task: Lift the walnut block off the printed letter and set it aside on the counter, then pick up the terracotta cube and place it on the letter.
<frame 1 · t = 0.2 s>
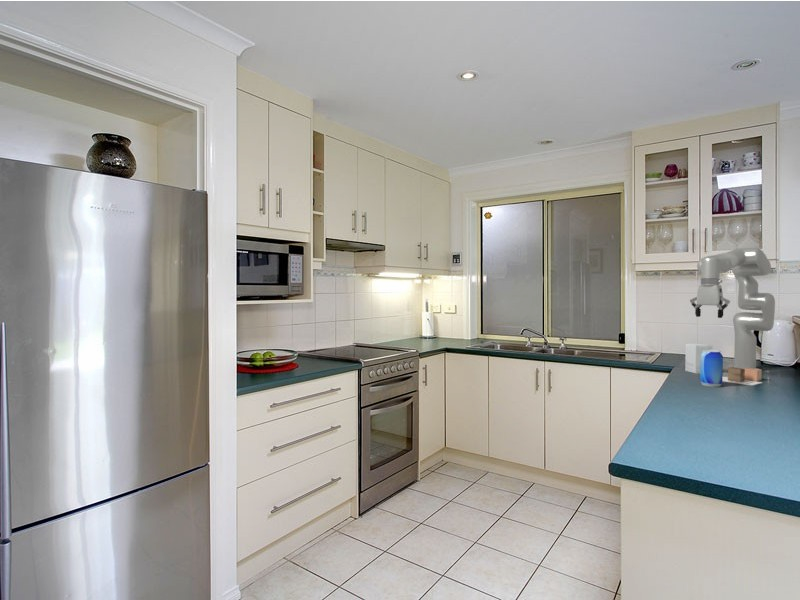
hand: (708, 317, 223), 30 cm above the countertop, fingers open, 9 cm apart
terracotta cube: (752, 380, 220), on the countertop
walnut block: (736, 380, 218), resting on letter
beer can: (710, 385, 208), on the countertop
supplement box: (698, 372, 241), on the countertop
letter: (736, 381, 218), on the countertop
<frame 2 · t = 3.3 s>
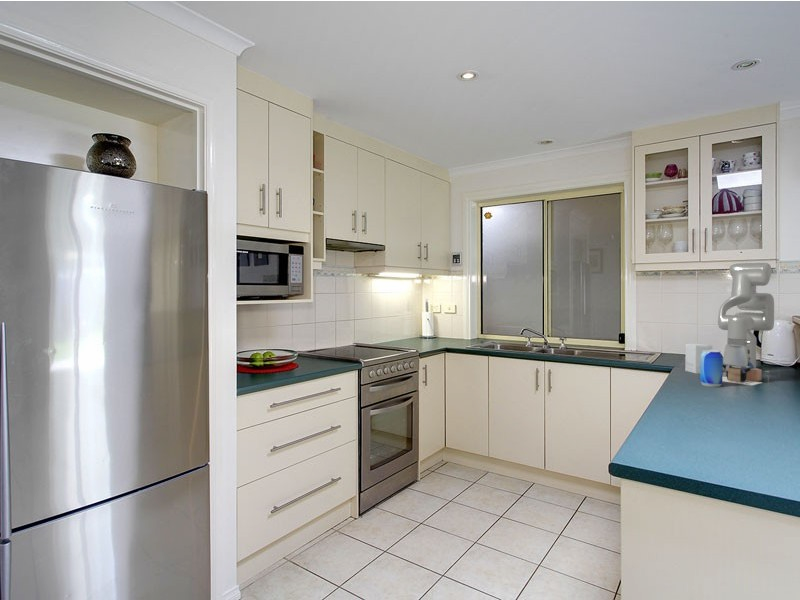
hand: (736, 379, 217), 1 cm above the countertop, fingers closed on walnut block, 5 cm apart
walnut block: (736, 380, 218), resting on letter, touching gripper
everything else where it was.
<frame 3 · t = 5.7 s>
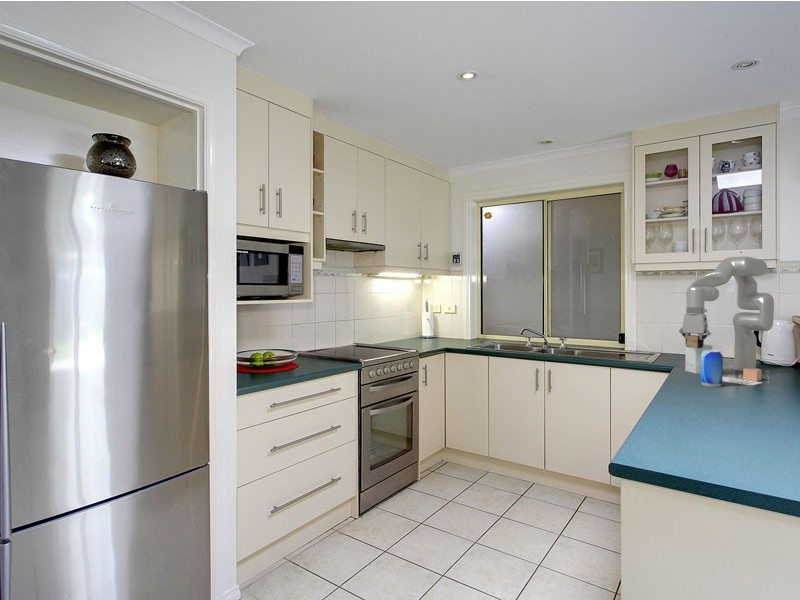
hand: (694, 346, 229), 15 cm above the countertop, fingers closed on walnut block, 5 cm apart
walnut block: (694, 347, 229), point 15 cm above the countertop, touching gripper
everything else where it was.
when the fingers open (2 cm above the countertop, at t = 8.0 s): walnut block drops 1 cm, on the countertop.
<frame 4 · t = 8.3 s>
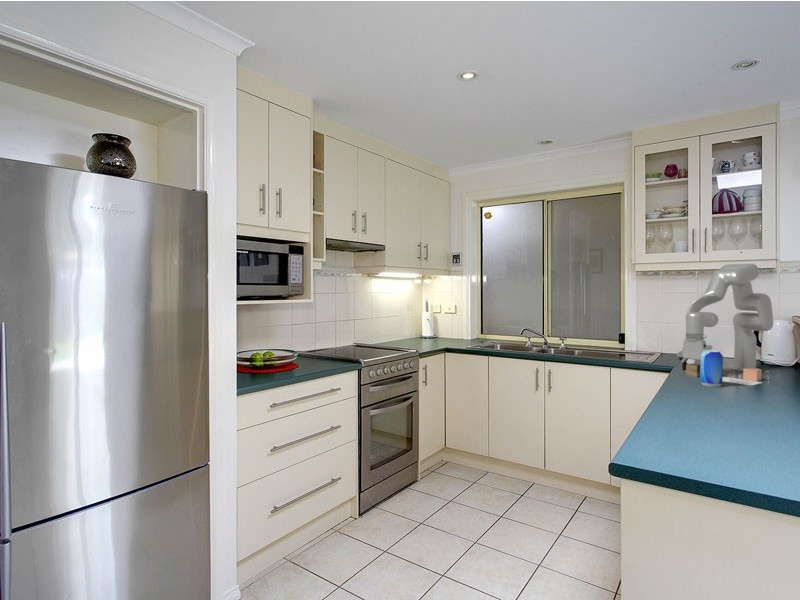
hand: (693, 371, 230), 2 cm above the countertop, fingers open, 7 cm apart
walnut block: (693, 376, 230), on the countertop
everything else where it was.
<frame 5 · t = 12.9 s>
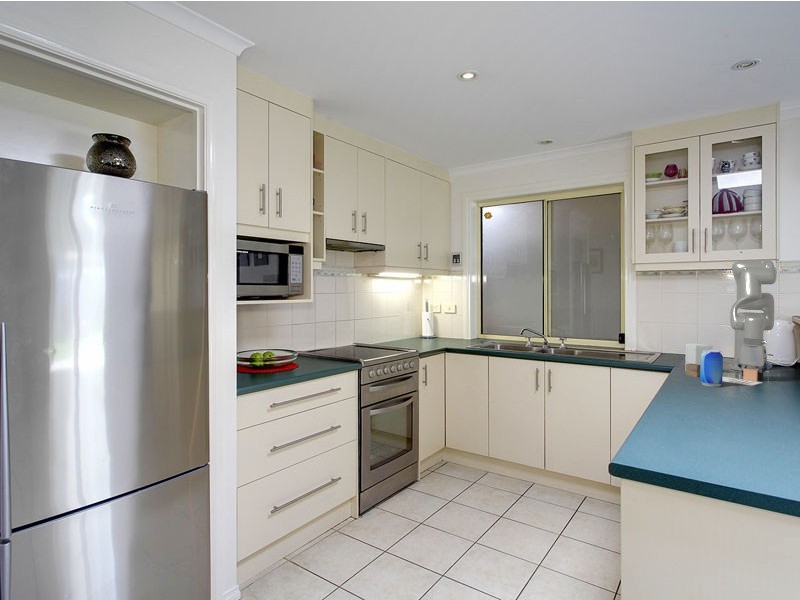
hand: (752, 379, 220), 1 cm above the countertop, fingers closed on terracotta cube, 5 cm apart
terracotta cube: (752, 380, 220), on the countertop, touching gripper
everything else where it was.
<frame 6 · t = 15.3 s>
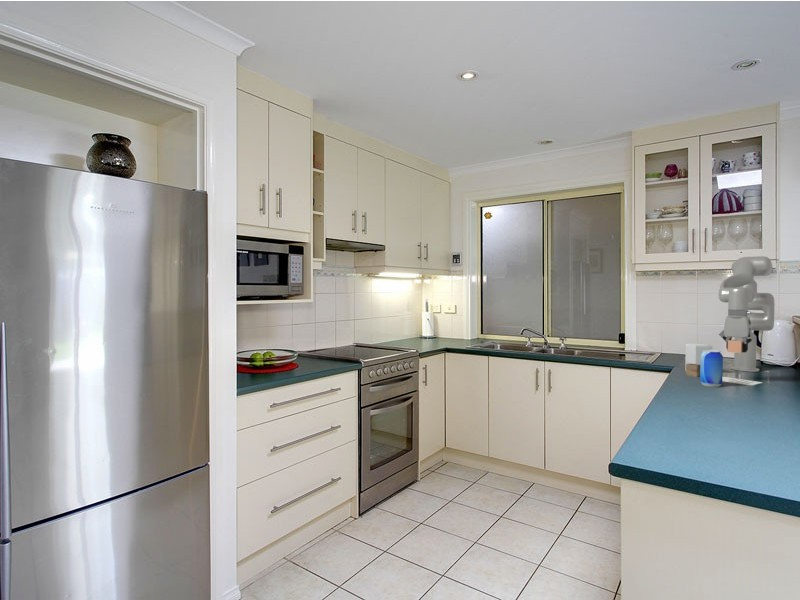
hand: (736, 350, 217), 15 cm above the countertop, fingers closed on terracotta cube, 5 cm apart
terracotta cube: (736, 352, 217), point 14 cm above the countertop, touching gripper
everything else where it was.
when the fingers open (2 cm above the countertop, at t = 17.8 s): terracotta cube drops 1 cm, resting on letter.
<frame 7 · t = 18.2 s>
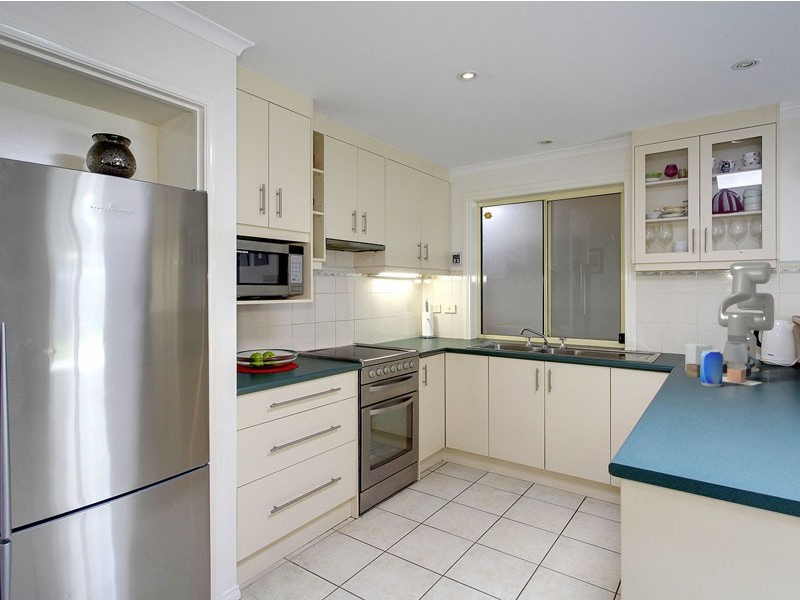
hand: (736, 374, 217), 3 cm above the countertop, fingers open, 9 cm apart
terracotta cube: (736, 380, 218), resting on letter
everything else where it was.
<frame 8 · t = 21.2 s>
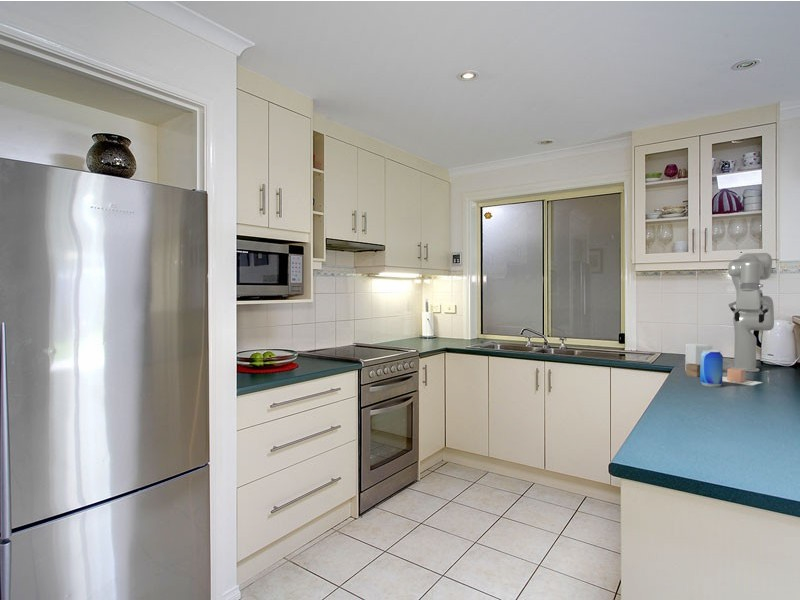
hand: (748, 321, 221), 28 cm above the countertop, fingers open, 9 cm apart
nothing on the countertop moved.
at the end: terracotta cube inside the target area on the letter (0.1 cm from its centre), point 0.2 cm above the letter's base; walnut block moved 17.5 cm from its start; terracotta cube tilted 0° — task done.
